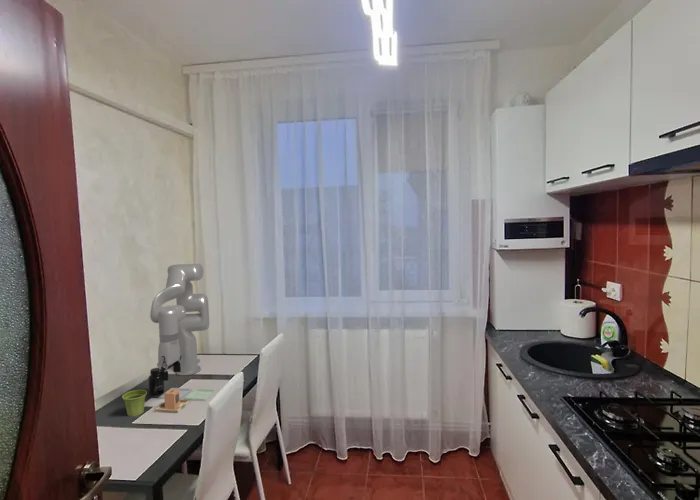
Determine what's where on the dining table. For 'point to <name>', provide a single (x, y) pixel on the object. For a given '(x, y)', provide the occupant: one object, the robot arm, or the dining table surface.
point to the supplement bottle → (155, 383)
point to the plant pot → (134, 402)
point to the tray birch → (178, 409)
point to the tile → (153, 402)
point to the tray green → (200, 394)
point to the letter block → (172, 399)
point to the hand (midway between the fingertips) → (171, 376)
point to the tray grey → (182, 392)
